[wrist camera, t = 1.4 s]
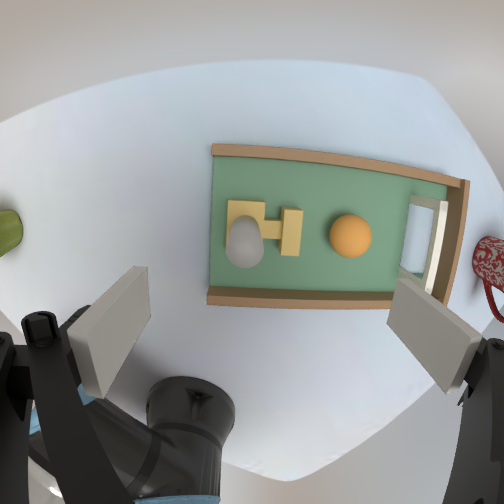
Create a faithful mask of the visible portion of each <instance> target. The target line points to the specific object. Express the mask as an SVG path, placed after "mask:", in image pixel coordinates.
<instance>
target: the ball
mask: <svg viewBox="0 0 504 504" xmlns="http://www.w3.org/2000/svg"><path fill="white" fill-rule="evenodd" d="M329 238H330V243H331V245H332V247H333V249H334V250H335V251H336V252H337V253H338V254H339V255H341V256H343V257H346V258H355V257H359V256H361V255H362V254H364V253H365V252H366V251H367V250H368V248H369V246H370V244H371V241H372V232H371V229H370V226H369V224H368V223H367V222H366V221H365V220H364V219H363V218H362V217H360V216H357V215H353V214H348V215H344V216H341V217H339V218H338V219H337V220H336V221H335V222H334V223H333V225H332V227H331V229H330V234H329Z"/></svg>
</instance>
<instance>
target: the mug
mask: <svg viewBox="0 0 504 504" xmlns="http://www.w3.org/2000/svg"><path fill="white" fill-rule="evenodd" d="M473 269H474V272H475V274H476V275H477V276H479V277H480V278H482V280H483V284H484V288H485V293H486V296H487V300H488V303H489V306H490V309H491V311H492V313H493V315H494V316H495V317H496V318H497V320H499V321H500V322H502V323H504V317H503V316H502V315H501V314H500V313H499V311H498V309H497V307H496V304H495V301H494V298H493V294H492V289H491V286H492V285H493V286H494V287H496V288H497V289H499V290H500V291H502V292H503V293H504V240H501V239H497V238H494V237H489V236H488V237H485V238H483V239H482V240H481V241H480V242H479V243H478V245H477V247H476V249H475V251H474V255H473Z"/></svg>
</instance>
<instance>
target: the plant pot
mask: <svg viewBox="0 0 504 504" xmlns="http://www.w3.org/2000/svg"><path fill="white" fill-rule="evenodd" d="M22 234H23V229H22V224H21V222H20V220H19V216H18V215H17V213H16V212H14V211H12V210H1V211H0V257H1V256H3V255H4V254H6V253H7V252H8V251H10V250H11V249H13V248H14V247H16V246H17V245H18V244H19V243H20V242H21V239H22Z"/></svg>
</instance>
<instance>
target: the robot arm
mask: <svg viewBox="0 0 504 504" xmlns="http://www.w3.org/2000/svg"><path fill="white" fill-rule="evenodd" d="M150 317H151V313H150V301H149V287H148V269H147V267H137V266H133V267H132V268H131V269H130V270H129V271H128V272H127V273H126V274H124V275H123V276H122V277H121V278H120V279H119V280H118V281H117V282H116V283H115V284H114V285H113V286H111V287H110V288H109V289H108V290H107V291H106V292H105V293H104V294H103V295H102V296H101V297H100V298H99V299H98V300H97V301H96V302H95V303H94V304H93V305H87V306H85V307H82V308H80V309H78V310H77V311H76V312H75V313H74V314H73V315H72V316H71V317H70V318H69V319H68V321H66V322H65V323H64V324H63V325H61V326H60V327H59V328H58V324H57V320H56V316H55V315H54V314H53V313H51V312H48V311H38V312H34V313H31V314H29V315H27V316H25V317H24V318H23V319H22V321H21V326H22V329H23V333H24V336H25V339H26V343H27V345H14V343H13V340H12V337H11V335H10V334H9V333H7V332H0V504H219V502H220V477H221V456H222V447H223V445H224V443H225V441H226V439H227V437H228V435H229V433H230V431H231V430H232V428H233V425H234V421H235V408H234V404H233V402H232V400H231V399H230V397H229V396H228V395H227V394H226V393H225V392H224V391H223V390H221V389H220V388H218V387H217V386H215V385H213V384H211V383H209V382H206V381H203V380H200V379H196V378H190V377H173V378H168V379H165V380H162V381H160V382H159V383H157V384H156V385H155V386H154V387H153V388H152V389H151V391H150V393H149V396H148V398H147V401H146V413H147V426H146V425H144V424H143V423H141V422H139V421H138V420H136V419H135V418H133V417H132V416H130V415H129V414H127V413H126V412H124V411H123V410H122V409H120V408H119V407H117V406H116V405H114V404H113V403H112V402H110V401H109V400H108V399H106V398H105V395H106V393H107V392H108V390H109V388H110V386H111V384H112V383H113V381H114V379H115V377H116V375H117V374H118V372H119V370H120V368H121V366H122V365H123V363H124V361H125V359H126V358H127V356H128V354H129V352H130V351H131V349H132V347H133V346H134V344H135V342H136V340H137V339H138V337H139V335H140V334H141V332H142V330H143V329H144V327H145V325H146V324H147V322H148V320H149V319H150ZM387 325H388V326H389V327H390V328H391V329H392V330H393V331H394V333H395V334H396V335H397V336H398V337H399V338H400V340H401V341H402V342H403V343H404V344H405V346H406V347H407V348H408V349H409V350H410V351H411V353H412V354H413V355H414V356H415V357H416V359H417V360H418V361H419V362H420V363H421V365H422V366H423V367H424V368H425V370H426V371H427V372H428V373H429V374H430V376H431V377H432V378H433V379H434V381H435V382H436V383H437V384H438V386H439V387H440V388H441V389H442V391H443V392H444V393H445V394H446V395H447V394H450V393H454V392H458V390H459V388H460V386H461V384H462V382H463V380H465V381H466V382H467V383H468V385H467V387H466V389H465V391H464V393H463V395H462V397H461V399H460V400H459V402H458V404H457V405H458V406H459V405H460V403H461V402H463V406H462V407H463V410H462V418H461V425H460V432H459V437H458V443H457V448H456V453H455V458H454V463H453V467H452V471H451V475H450V479H449V483H448V486H447V490H446V493H445V496H444V500H443V503H442V504H504V341H503V340H501V339H496V338H490V339H488V340H486V339H484V338H483V335H481V334H480V333H479V332H478V331H476V330H475V329H474V328H473V327H471V326H470V325H469V324H468V323H466V322H465V321H464V320H463V319H461V318H460V317H459V316H457V315H456V314H455V313H454V312H452V311H451V310H450V309H448V308H447V307H446V306H444V305H443V304H442V303H441V302H439V301H438V300H437V299H435V298H434V297H433V296H431V295H430V294H428V293H427V292H426V291H424V290H423V289H422V288H420V287H419V286H418V285H416V284H415V283H413V282H412V281H411V280H409V279H397V282H396V287H395V291H394V296H393V300H392V304H391V308H390V312H389V316H388V320H387ZM33 400H35V407H34V409H33V410H32V403H33Z"/></svg>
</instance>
